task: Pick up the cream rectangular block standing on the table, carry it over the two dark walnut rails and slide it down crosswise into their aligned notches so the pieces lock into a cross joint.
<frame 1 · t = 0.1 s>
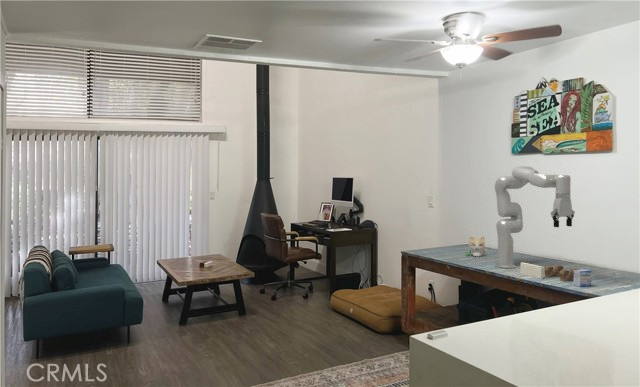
hand: (562, 226, 268), 31 cm above the table, tool pointing down, fingers open, 9 cm apart
cream rectangular block: (531, 276, 282), on the table
walnut rail 2: (569, 280, 270), on the table
walnut rail 1: (553, 276, 281), on the table
kitten: (476, 256, 352), on the table
medicine box: (582, 286, 257), on the table
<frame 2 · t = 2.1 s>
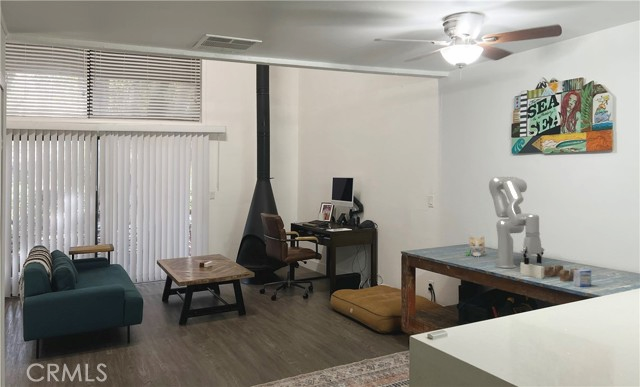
hand: (532, 263, 281), 8 cm above the table, tool pointing down, fingers open, 9 cm apart
nothing on the table moved.
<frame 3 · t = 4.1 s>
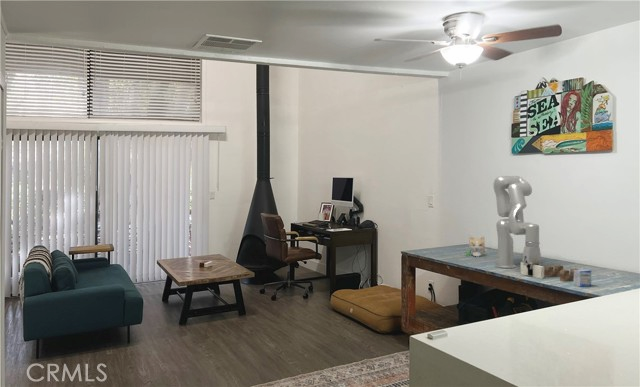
hand: (532, 274, 282), 1 cm above the table, tool pointing down, fingers closed on cream rectangular block, 2 cm apart
cream rectangular block: (532, 276, 282), on the table, touching gripper
everything else where it was.
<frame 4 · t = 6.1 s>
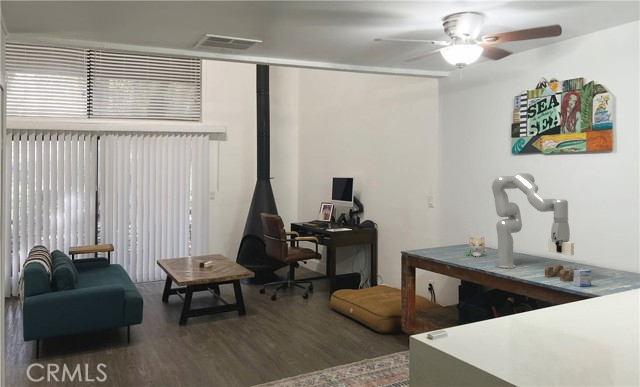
hand: (560, 251, 275), 16 cm above the table, tool pointing down, fingers closed on cream rectangular block
cream rectangular block: (560, 253, 275), point 15 cm above the table, touching gripper
everything else where it was.
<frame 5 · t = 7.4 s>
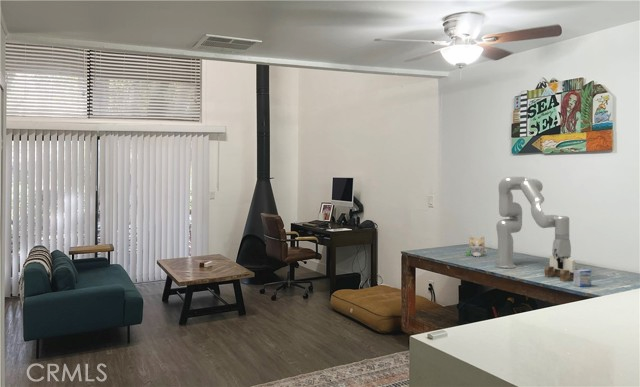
hand: (562, 268, 275), 6 cm above the table, tool pointing down, fingers closed on cream rectangular block, 2 cm apart
cream rectangular block: (562, 269, 275), point 5 cm above the table, touching gripper
everything else where it was.
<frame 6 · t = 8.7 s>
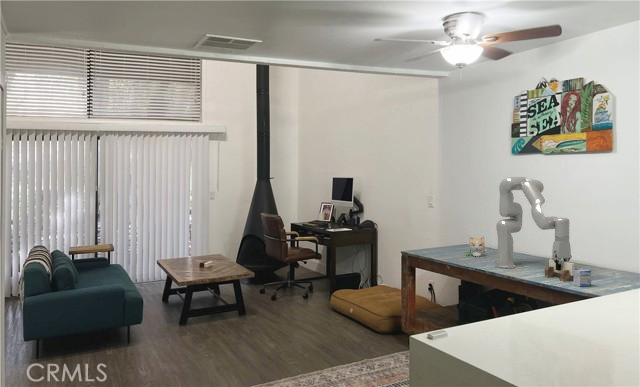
hand: (561, 269, 275), 5 cm above the table, tool pointing down, fingers open, 4 cm apart
cream rectangular block: (561, 273, 276), point 3 cm above the table, touching walnut rail 2, walnut rail 1
everything else where it was.
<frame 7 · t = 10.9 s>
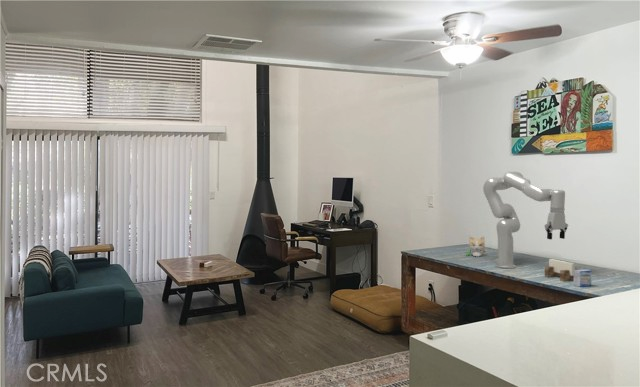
hand: (555, 238, 283), 22 cm above the table, tool pointing down, fingers open, 9 cm apart
nothing on the table moved.
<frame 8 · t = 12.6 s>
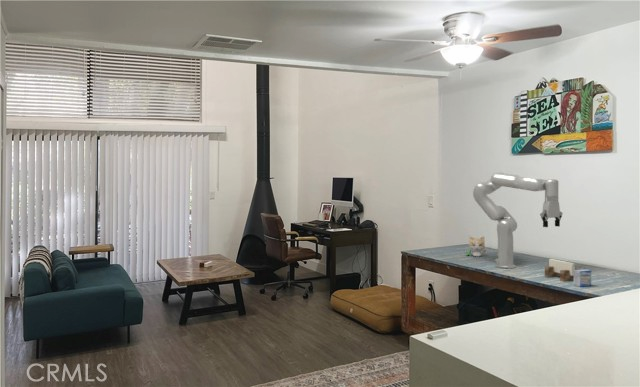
hand: (551, 226, 293), 28 cm above the table, tool pointing down, fingers open, 9 cm apart
nothing on the table moved.
at the end: cream rectangular block 0.1 cm from the target spot, point 3.0 cm above the table; cream rectangular block tilted 0°; the gripper is holding nothing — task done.
